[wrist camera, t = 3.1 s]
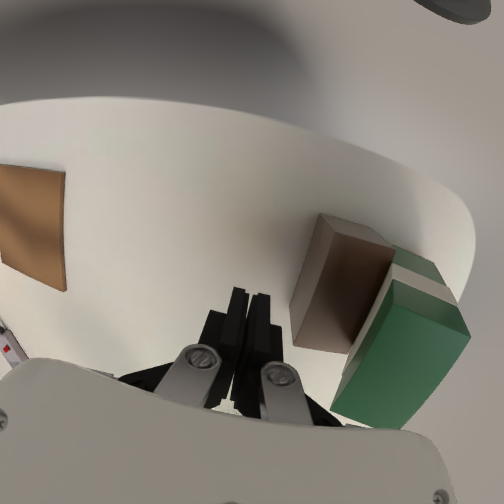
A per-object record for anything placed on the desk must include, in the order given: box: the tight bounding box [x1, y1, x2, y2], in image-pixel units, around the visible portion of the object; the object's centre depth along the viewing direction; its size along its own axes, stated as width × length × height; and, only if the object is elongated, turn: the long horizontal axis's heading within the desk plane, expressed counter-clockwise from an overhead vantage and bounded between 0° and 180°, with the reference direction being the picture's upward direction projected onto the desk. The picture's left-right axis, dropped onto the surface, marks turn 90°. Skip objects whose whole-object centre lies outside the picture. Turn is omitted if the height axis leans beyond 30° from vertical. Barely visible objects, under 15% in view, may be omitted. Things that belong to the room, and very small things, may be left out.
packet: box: [330, 245, 471, 429], centre depth 15 cm, size 9×7×12 cm
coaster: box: [0, 164, 67, 292], centre depth 21 cm, size 12×12×1 cm
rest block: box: [289, 213, 396, 354], centre depth 18 cm, size 8×4×5 cm, turn 167°
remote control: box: [0, 326, 28, 368], centre depth 28 cm, size 7×16×3 cm, turn 20°
